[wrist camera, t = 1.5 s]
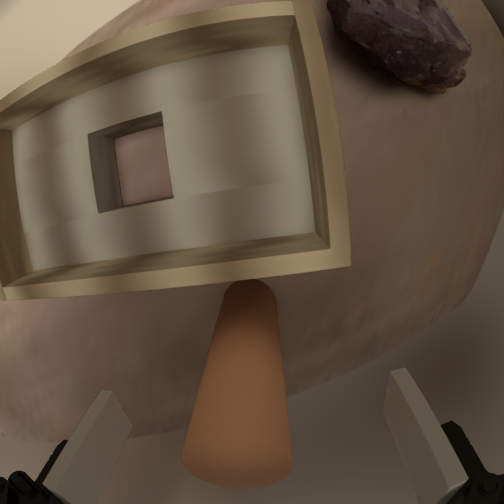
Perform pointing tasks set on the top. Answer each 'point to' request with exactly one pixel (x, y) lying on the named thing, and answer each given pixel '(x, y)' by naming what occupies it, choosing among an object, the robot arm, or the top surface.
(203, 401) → the peg
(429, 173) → the top surface
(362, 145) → the top surface
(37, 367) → the top surface
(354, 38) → the rock
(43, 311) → the top surface
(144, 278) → the box
